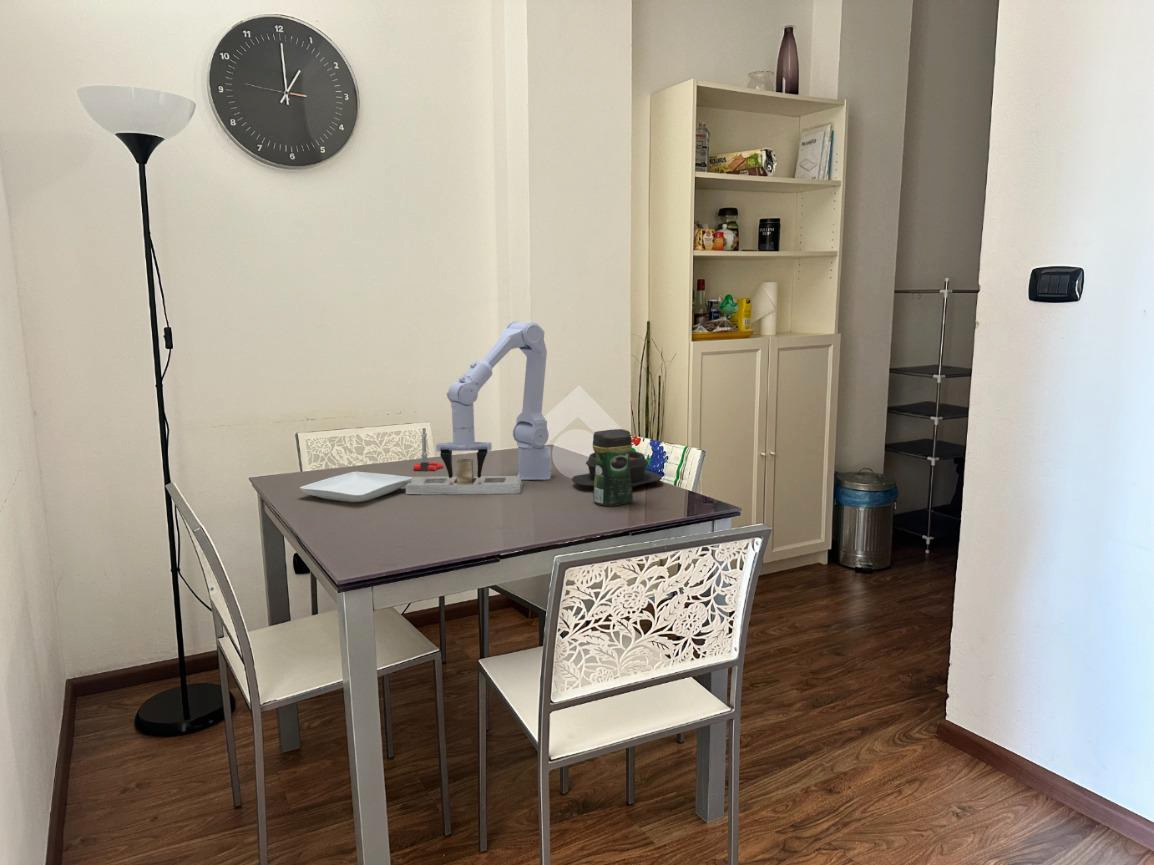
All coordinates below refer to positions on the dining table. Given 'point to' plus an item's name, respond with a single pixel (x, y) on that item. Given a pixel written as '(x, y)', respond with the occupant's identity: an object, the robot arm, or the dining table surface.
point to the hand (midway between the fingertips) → (465, 477)
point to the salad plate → (356, 486)
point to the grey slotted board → (465, 485)
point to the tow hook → (424, 464)
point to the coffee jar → (612, 467)
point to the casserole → (636, 471)
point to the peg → (464, 471)
